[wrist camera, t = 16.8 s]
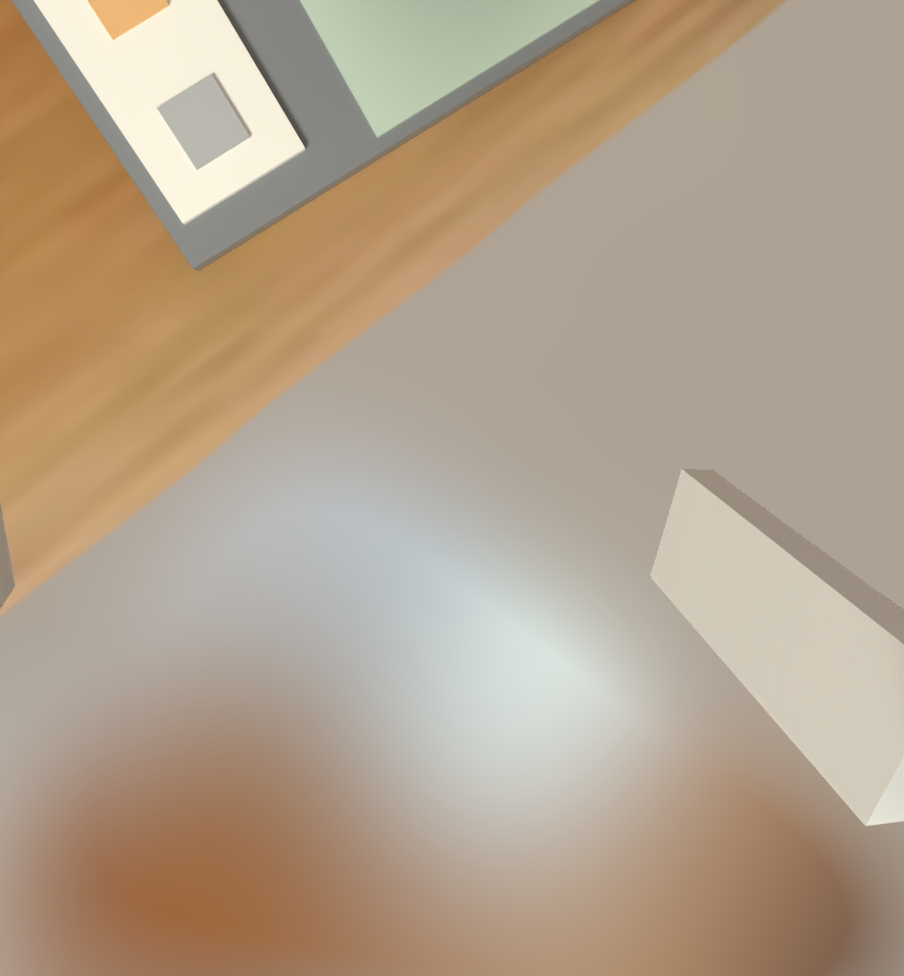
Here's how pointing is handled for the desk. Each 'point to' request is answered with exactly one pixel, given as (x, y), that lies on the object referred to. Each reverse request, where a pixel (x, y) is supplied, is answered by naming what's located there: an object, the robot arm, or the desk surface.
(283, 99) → the switch plate
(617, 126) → the desk surface
